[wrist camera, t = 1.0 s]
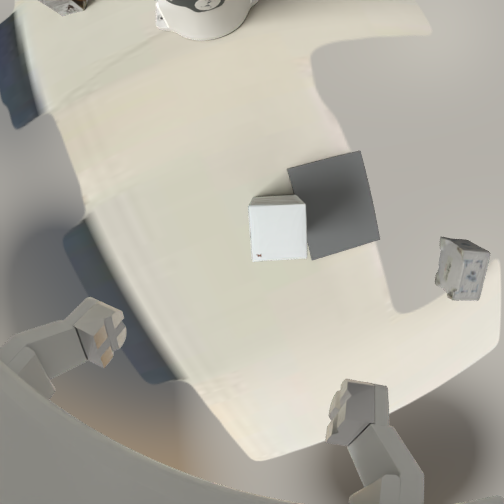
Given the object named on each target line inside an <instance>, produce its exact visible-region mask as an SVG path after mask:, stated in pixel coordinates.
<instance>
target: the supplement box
mask: <svg viewBox="0 0 504 504" xmlns="http://www.w3.org/2000/svg"><path fill="white" fill-rule="evenodd" d="M248 215H249V228H250V241H251V255H252V262H258V261H272V260H289V259H305V258H307V217H306V204H305V203H304V202H303V201H302V200H301V199H300V198H299V197H298V196H297V195H282V196H264V197H253V198H252V200H251V202H250V204H249V206H248Z"/></svg>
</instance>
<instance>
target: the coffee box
mask: <svg viewBox="0 0 504 504" xmlns="http://www.w3.org/2000/svg"><path fill="white" fill-rule="evenodd" d="M38 1H40V2H42V3H43V4H45V5H46V6H48V7H49V8H51V9H53V10H54V11H56V12H57V13H59V14H60V15H62V16H65V15H68V14H72V13H76V12H80V11H84V10H85V8H86V5H87V2H88V0H38Z"/></svg>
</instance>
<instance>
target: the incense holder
mask: <svg viewBox="0 0 504 504" xmlns="http://www.w3.org/2000/svg"><path fill="white" fill-rule="evenodd" d="M440 249H441V253H440V259H439V270H438V272H437V273H436V278H435V284H436V285H437V286H439V287H441V288H443V289H444V290H445V291H446V292H447V296H448V298H450V299H452V300H456V301H459V300H470V301H471V300H476V301H478V300H479V298H480V295H481V292H482V288H483V283H484V279H485V275H486V271H487V267H488V263H489V258H490V252H489V251H487V250H485V249H483V248H481V247H479V246H477V245H475V244H474V243H472V242H470V241H468V240H462V239H450V238H445V237H441V238H440Z"/></svg>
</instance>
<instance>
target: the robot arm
mask: <svg viewBox="0 0 504 504" xmlns="http://www.w3.org/2000/svg"><path fill="white" fill-rule="evenodd" d="M155 1H156V26H157V28H158V29H160V30H166V31H173V32H175V33H177V34H179V35H180V36H182V37H185V38H188V39H192V40H211V39H216V38H219V37H222V36H225V35H227V34H229V33H231V32H232V31H234V30H235V29H237V28H238V27H239V26H240V25H241V24H242V23H243V21H244V20H245V18H246V16H247V14H248V11H249V9H250V8H251V7H252V6H253V5H254V4H256V3H257V2H258V0H155ZM162 18H163V19H162ZM161 19H162V20H161ZM123 319H124V316H123V312H122V311H120V310H118V309H116V308H114V307H111V306H109V305H107V304H105V303H103V302H101V301H98V300H96V299H94V298H92V297H89V298H86V299H85V300H84V301H83V302H82V303H81V304H80V305H79V306H78V307H77V308H76V309H75V310H74V311H73V312H72V313H71V314H69V316H67V318H65V319H64V320H63V321H62V320H58V321H55V322H52V323H48V324H45V325H42V326H39V327H36V328H33V329H30V330H26V331H23V332H20V333H17V334H14V335H13V336H12V337H11V338H10V339H9V340H8V341H7V342H6V343H5V344H4V345H3V346H2V347H1V348H0V504H303V503H296V502H291V501H284V500H280V499H275V498H270V497H265V496H261V495H256V494H252V493H248V492H244V491H240V490H237V489H233V488H230V487H226V486H223V485H220V484H216V483H213V482H210V481H207V480H204V479H201V478H198V477H196V476H193V475H190V474H187V473H184V472H182V471H179V470H177V469H174V468H172V467H169V466H167V465H164V464H162V463H160V462H158V461H155V460H153V459H150V458H149V457H146V456H144V455H142V454H140V453H138V452H136V451H133V450H132V449H130V448H128V447H126V446H124V445H122V444H120V443H118V442H116V441H114V440H112V439H111V438H108V437H107V436H105V435H103V434H102V433H100V432H98V431H96V430H95V429H93V428H91V427H90V426H88V425H86V424H84V423H83V422H81V421H80V420H78V419H77V418H75V417H73V416H72V415H70V414H69V413H67V412H66V411H64V410H63V409H62V408H60V407H58V406H57V405H56V404H54V403H53V402H51V401H50V400H49V399H50V398H51V397H52V395H53V394H54V392H55V387H54V386H53V384H52V382H51V381H50V379H52V378H54V377H56V376H58V375H60V374H62V373H64V372H66V371H68V370H70V369H72V368H74V367H76V366H78V365H80V364H82V363H84V362H86V361H87V360H88V361H91V362H92V363H94V364H96V365H99V366H100V367H102V368H105V367H106V365H107V364H108V363H109V362H110V360H111V359H112V358H113V351H115V350H117V349H120V347H121V346H122V345H123V343H124V341H125V338H126V327H125V325H124V324H123V322H122V320H123ZM329 417H330V419H331V422H330V424H329V425H328V426H327V432H326V440H325V443H330V444H336V445H342V446H348V447H347V448H348V450H349V453H350V455H351V457H352V460H353V462H354V464H355V466H356V469H357V471H358V474H359V476H360V478H361V480H362V483H363V485H364V487H365V488H363V489H361V490H359V491H358V492H356V493H354V494H353V495H351V496H350V498H349V504H423V503H424V473H423V472H422V470H421V469H420V467H419V466H418V464H417V463H416V461H415V459H414V458H413V456H412V455H411V453H410V452H409V450H408V449H407V447H406V446H405V444H404V442H403V441H402V439H401V438H400V436H399V435H398V433H397V432H396V430H395V429H394V427H393V426H389V402H388V388H387V386H383V385H377V384H372V383H367V382H361V381H356V380H350V379H345V380H344V381H343V382H342V384H341V390H340V391H337V392H336V394H335V395H334V397H333V400H332V402H331V405H330V410H329ZM456 504H504V498H503V497H501V496H492V497H487V498H483V499H478V500H473V501H468V502H463V503H456Z"/></svg>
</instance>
